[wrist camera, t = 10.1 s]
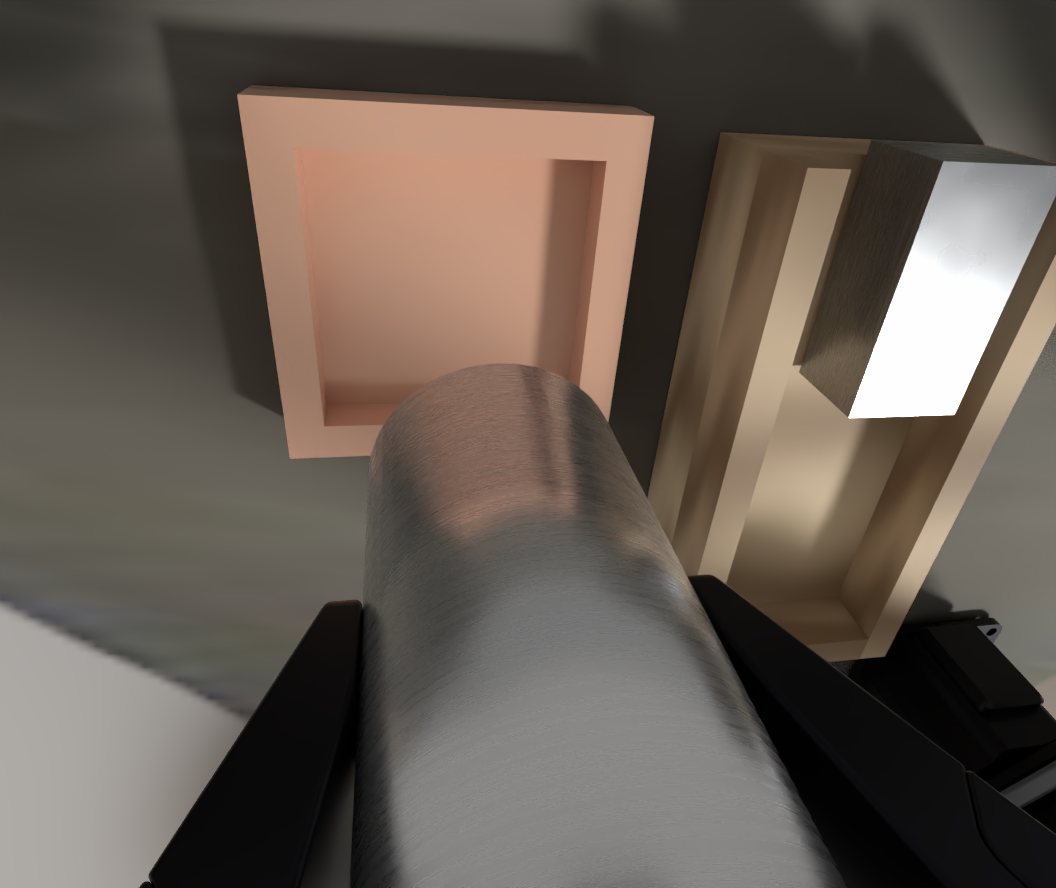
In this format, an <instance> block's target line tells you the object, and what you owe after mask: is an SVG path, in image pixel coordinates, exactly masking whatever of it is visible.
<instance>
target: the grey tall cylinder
mask: <svg viewBox="0 0 1056 888" xmlns="http://www.w3.org/2000/svg"><path fill="white" fill-rule="evenodd" d="M350 888H847V886H846V884H845V882H844V880H843V878H842V876H841V874H840V872H839V870H838V868H837V866H836V865H835V863H834V861H833V859H832V857H831V855H830V853H829V851H828V849H827V847H826V845H825V843H824V841H823V839H822V837H821V835H820V833H819V832H818V830H817V828H816V826H815V824H814V822H813V820H812V818H811V816H810V814H809V812H808V810H807V808H806V806H805V804H804V802H803V800H802V799H801V797H800V795H799V793H798V791H797V789H796V787H795V785H794V783H793V781H792V779H791V777H790V775H789V773H788V771H787V769H786V767H785V765H784V764H783V762H782V760H781V758H780V756H779V754H778V752H777V750H776V748H775V746H774V744H773V742H772V740H771V738H770V736H769V734H768V732H767V731H766V729H765V727H764V725H763V723H762V721H761V719H760V717H759V715H758V713H757V711H756V709H755V707H754V705H753V703H752V701H751V699H750V697H749V696H748V694H747V692H746V690H745V688H744V686H743V684H742V682H741V680H740V678H739V676H738V674H737V672H736V670H735V668H734V666H733V664H732V663H731V661H730V659H729V657H728V655H727V653H726V651H725V649H724V647H723V645H722V643H721V641H720V639H719V637H718V635H717V633H716V631H715V629H714V628H713V626H712V624H711V622H710V620H709V618H708V616H707V614H706V612H705V610H704V608H703V606H702V604H701V602H700V600H699V598H698V596H697V595H696V593H695V591H694V589H693V587H692V585H691V583H690V581H689V579H688V577H687V575H686V573H685V571H684V569H683V567H682V565H681V563H680V561H679V560H678V558H677V556H676V554H675V552H674V550H673V548H672V546H671V544H670V542H669V540H668V538H667V536H666V534H665V532H664V530H663V528H662V527H661V525H660V523H659V521H658V519H657V517H656V515H655V513H654V511H653V509H652V507H651V505H650V503H649V501H648V499H647V497H646V495H645V493H644V492H643V490H642V488H641V486H640V484H639V482H638V480H637V478H636V476H635V474H634V472H633V470H632V468H631V466H630V464H629V462H628V460H627V459H626V457H625V455H624V453H623V451H622V449H621V447H620V445H619V443H618V441H617V439H616V437H615V435H614V433H613V431H612V429H611V427H610V425H609V424H608V422H607V420H606V418H605V416H604V415H603V413H602V411H601V410H600V408H599V407H598V405H597V404H596V403H595V402H594V401H593V400H592V398H591V397H590V396H589V395H588V394H587V393H585V392H584V391H583V390H582V389H581V388H579V387H578V386H577V385H575V384H574V383H572V382H570V381H569V380H567V379H566V378H564V377H562V376H559V375H557V374H555V373H553V372H550V371H547V370H544V369H541V368H537V367H533V366H527V365H521V364H508V363H496V364H483V365H478V366H473V367H468V368H463V369H460V370H457V371H454V372H451V373H448V374H446V375H443V376H441V377H439V378H437V379H435V380H433V381H431V382H429V383H428V384H426V385H424V386H423V387H421V388H419V389H418V390H416V391H415V392H414V393H413V394H411V395H410V396H409V397H408V398H406V399H405V400H404V401H403V402H402V403H401V404H400V405H399V406H398V407H397V408H396V409H395V410H394V411H393V413H392V414H391V415H390V417H389V418H388V419H387V421H386V422H385V424H384V425H383V427H382V429H381V431H380V433H379V435H378V436H377V438H376V441H375V444H374V447H373V450H372V453H371V458H370V464H369V479H368V501H367V522H366V544H365V565H364V587H363V614H362V635H361V657H360V678H359V699H358V716H357V738H356V759H355V781H354V802H353V824H352V845H351V867H350Z"/></svg>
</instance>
